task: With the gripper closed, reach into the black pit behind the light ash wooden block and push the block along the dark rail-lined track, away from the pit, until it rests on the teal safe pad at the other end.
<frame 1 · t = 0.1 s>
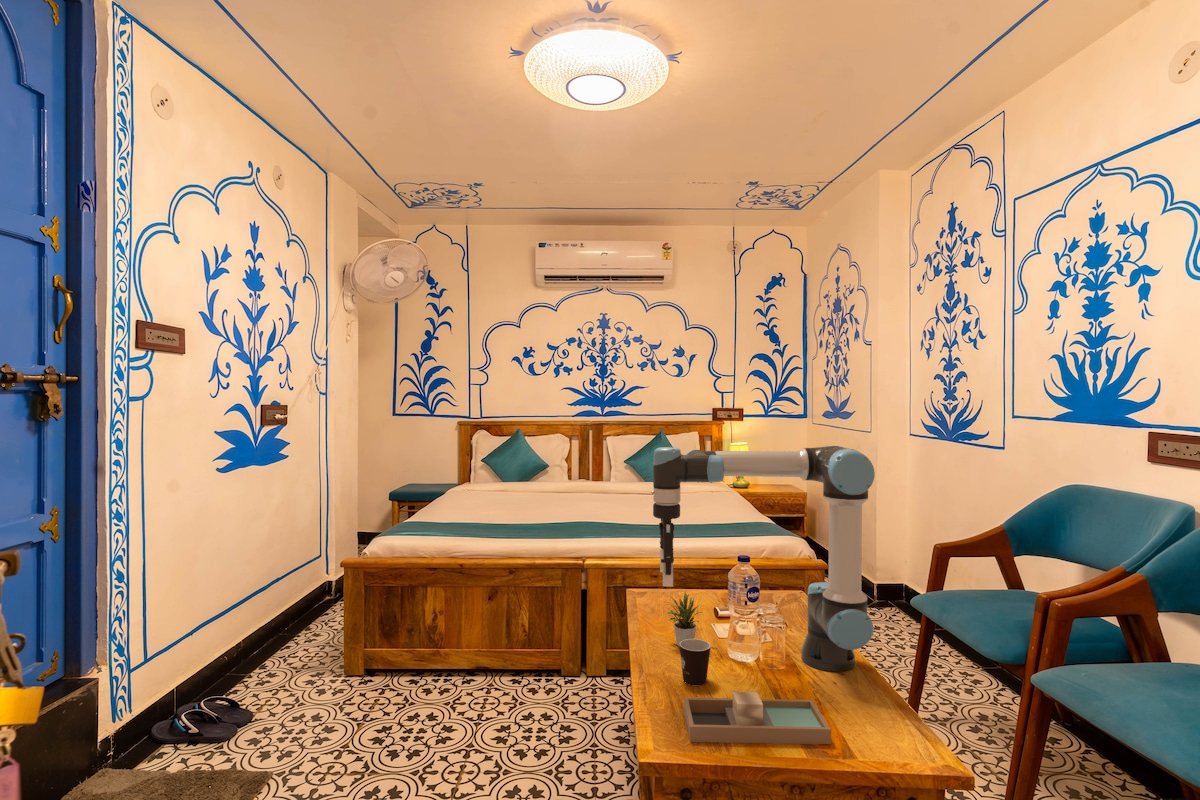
hand: (666, 578, 180), 28 cm above the table, tool pointing down, fingers open, 13 cm apart
ash block: (747, 718, 154), point 2 cm above the table, touching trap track
coffee mug: (695, 678, 180), on the table
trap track: (753, 727, 154), on the table
house plant: (682, 643, 205), on the table
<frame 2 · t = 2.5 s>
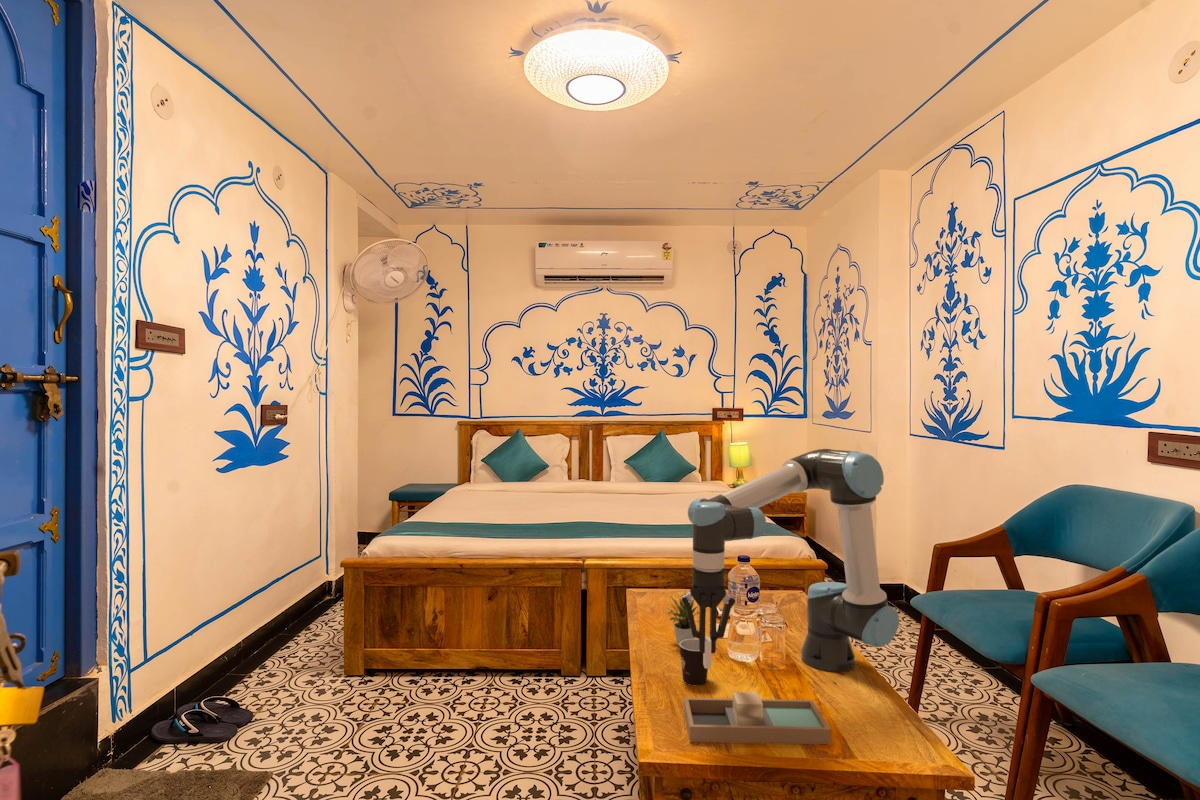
hand: (707, 665, 154), 15 cm above the table, tool pointing down, fingers closed
nothing on the table moved.
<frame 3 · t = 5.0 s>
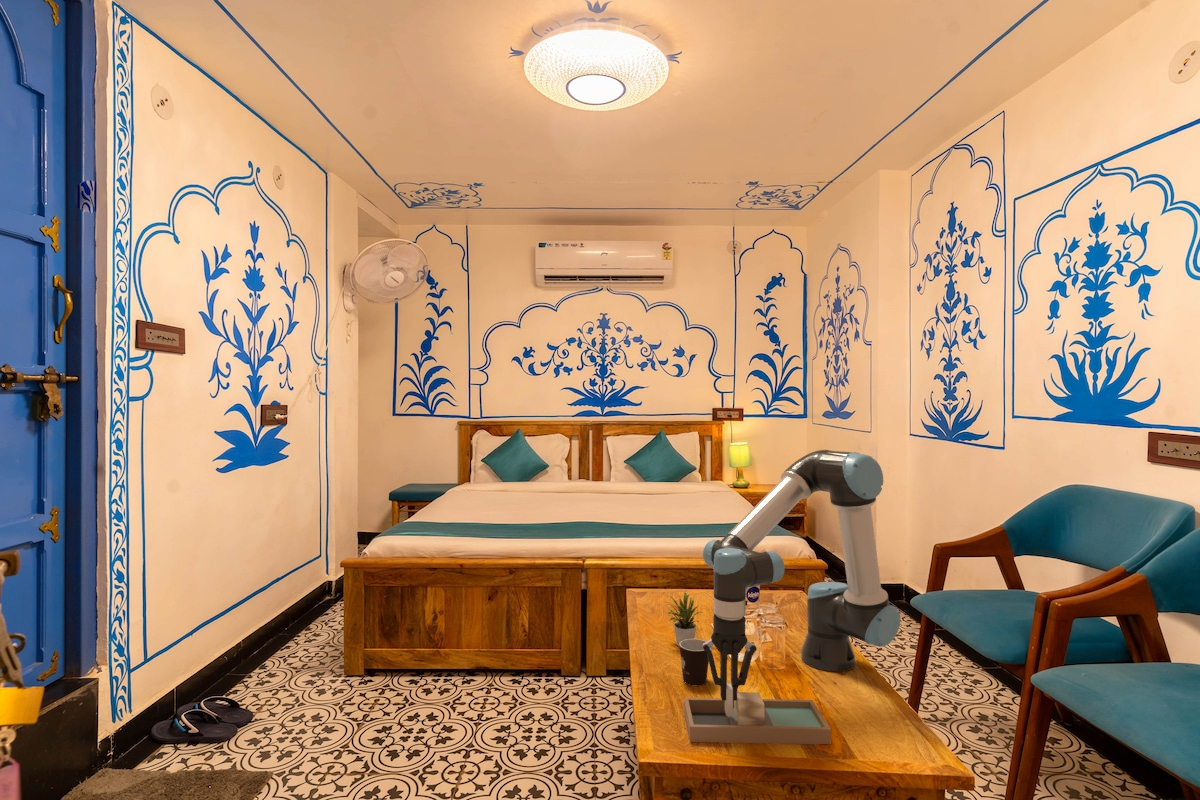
hand: (728, 712, 154), 3 cm above the table, tool pointing down, fingers closed
ash block: (748, 718, 154), point 2 cm above the table, touching gripper
everything else where it was.
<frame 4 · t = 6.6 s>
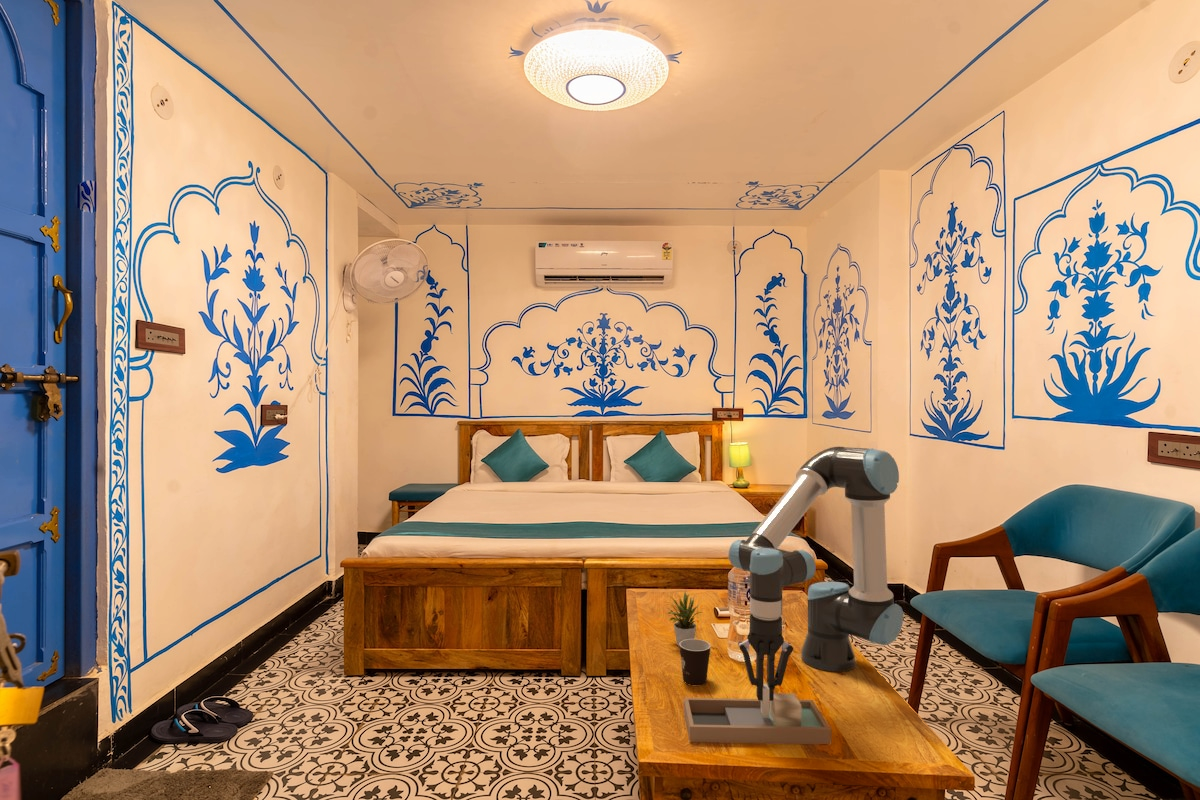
hand: (764, 713, 154), 3 cm above the table, tool pointing down, fingers closed
ash block: (785, 719, 153), point 2 cm above the table, touching gripper
everything else where it was.
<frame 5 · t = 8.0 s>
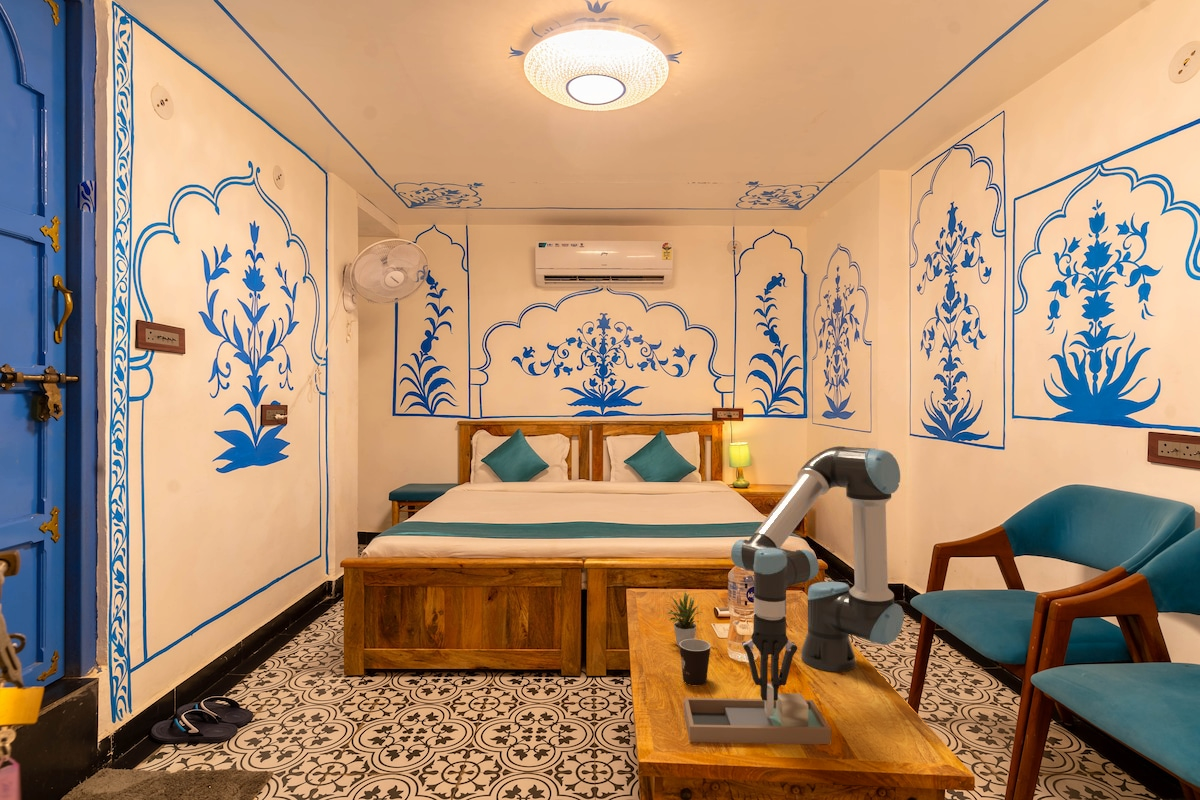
hand: (768, 713, 153), 4 cm above the table, tool pointing down, fingers closed
ash block: (791, 720, 153), point 2 cm above the table, touching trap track
everything else where it was.
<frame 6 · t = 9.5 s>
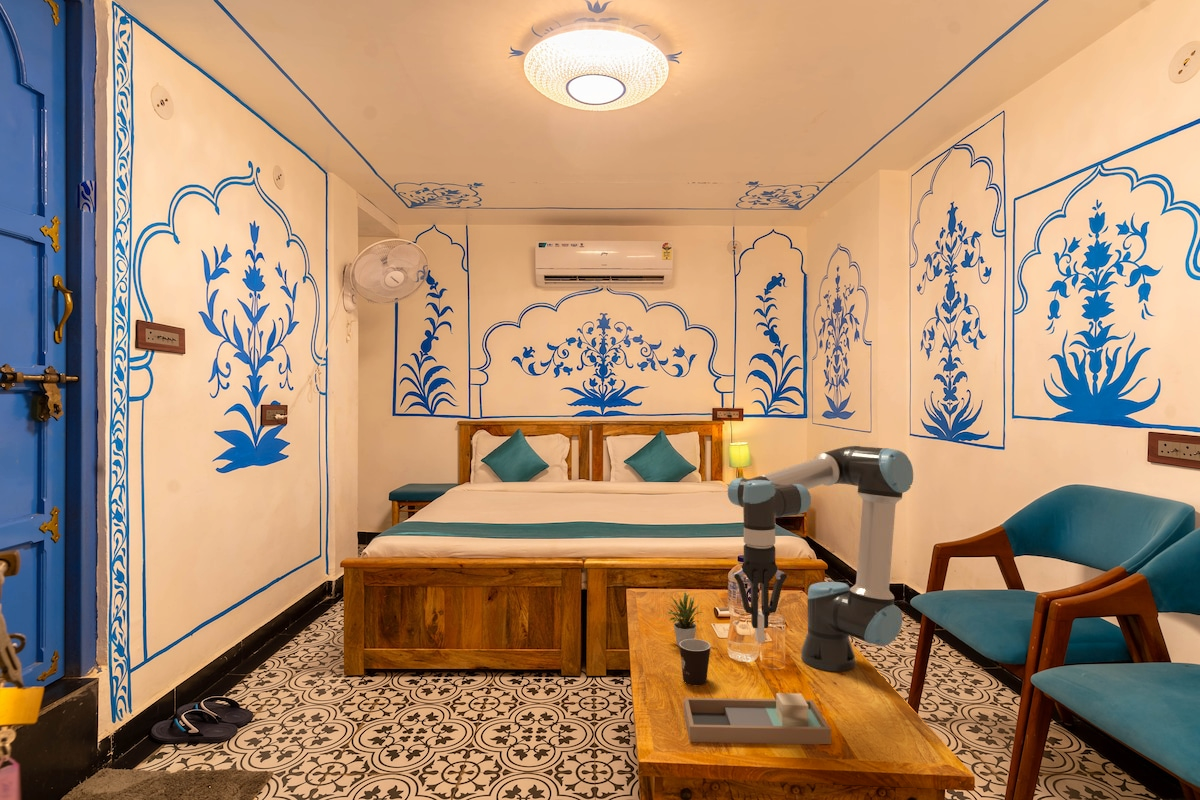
hand: (759, 640, 157), 20 cm above the table, tool pointing down, fingers closed
nothing on the table moved.
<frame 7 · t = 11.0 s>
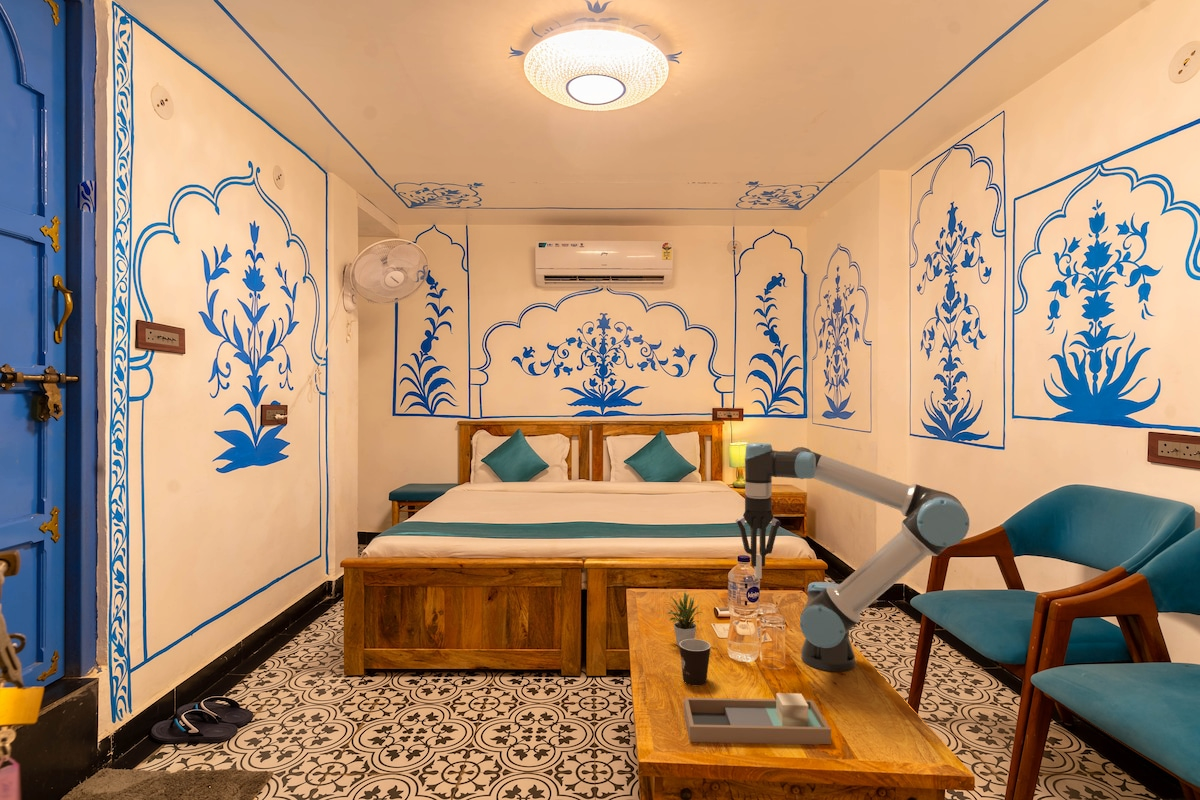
hand: (757, 577, 187), 26 cm above the table, tool pointing down, fingers closed
nothing on the table moved.
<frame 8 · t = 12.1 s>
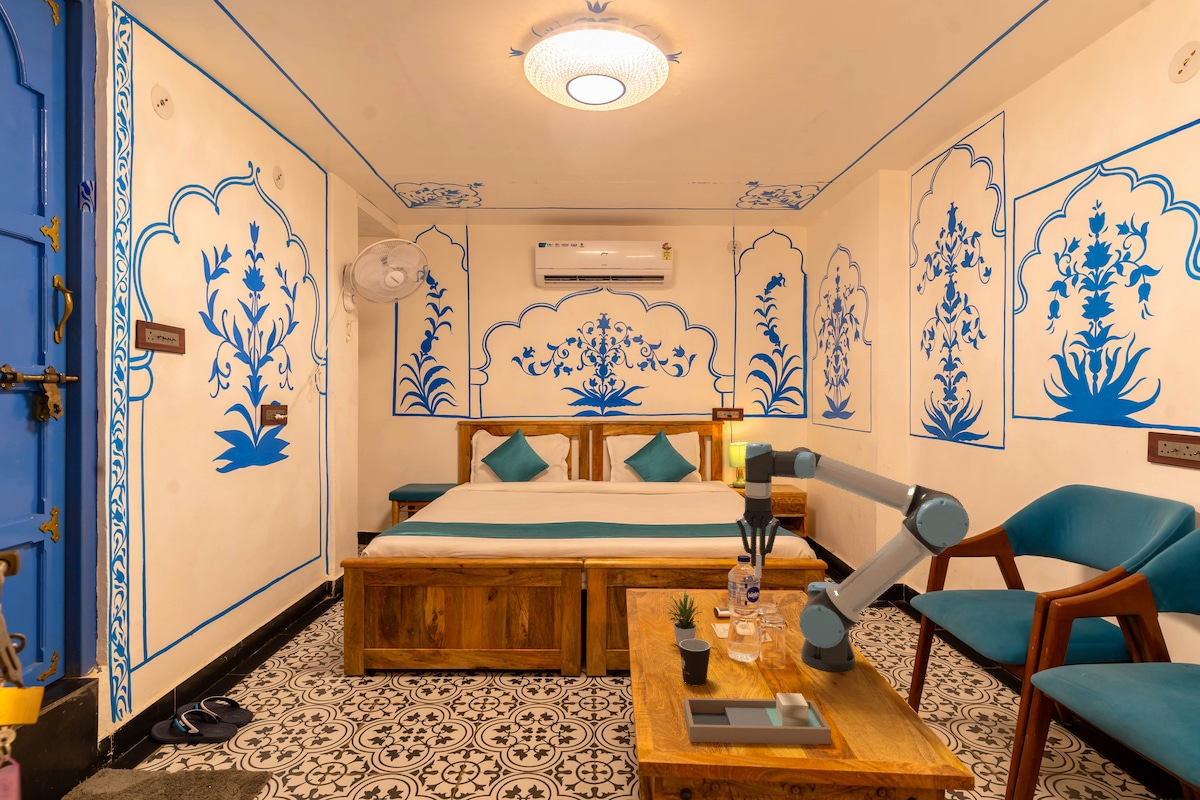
hand: (757, 576, 187), 26 cm above the table, tool pointing down, fingers closed
nothing on the table moved.
at the end: ash block inside the target area on the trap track (0.3 cm from its centre), point 2.0 cm above the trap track's base; ash block tilted 0°; the gripper is holding nothing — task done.
